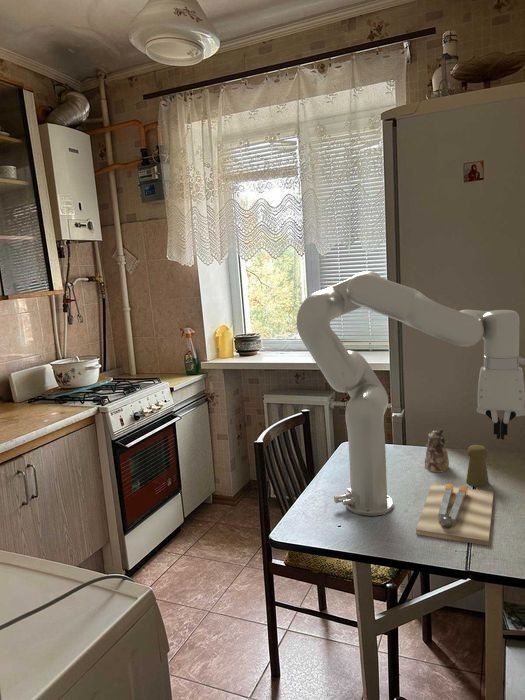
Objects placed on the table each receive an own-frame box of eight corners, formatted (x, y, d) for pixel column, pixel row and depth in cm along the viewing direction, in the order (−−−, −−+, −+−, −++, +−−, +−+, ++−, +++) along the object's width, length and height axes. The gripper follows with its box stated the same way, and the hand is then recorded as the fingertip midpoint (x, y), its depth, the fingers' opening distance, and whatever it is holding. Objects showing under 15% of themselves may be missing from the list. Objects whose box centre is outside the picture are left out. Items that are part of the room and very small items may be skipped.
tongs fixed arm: (445, 522, 127) (445, 514, 127) (437, 521, 128) (437, 513, 128) (453, 491, 143) (453, 484, 142) (446, 490, 144) (446, 483, 143)
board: (488, 545, 119) (488, 540, 119) (416, 534, 126) (415, 529, 126) (493, 495, 142) (493, 491, 142) (431, 488, 149) (431, 484, 149)
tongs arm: (454, 529, 124) (454, 521, 123) (440, 527, 125) (440, 518, 125) (467, 493, 141) (467, 486, 141) (454, 491, 143) (454, 484, 142)
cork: (485, 489, 146) (485, 451, 144) (463, 484, 150) (463, 448, 148) (491, 480, 151) (491, 444, 149) (469, 476, 154) (469, 441, 152)
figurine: (419, 465, 165) (419, 429, 163) (438, 461, 167) (438, 425, 165) (434, 473, 158) (433, 435, 156) (453, 469, 160) (453, 431, 158)
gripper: (536, 360, 123) (535, 434, 127) (468, 359, 130) (468, 430, 133) (537, 367, 117) (536, 445, 120) (465, 365, 123) (466, 440, 126)
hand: (500, 437), depth 126 cm, fingers closed
